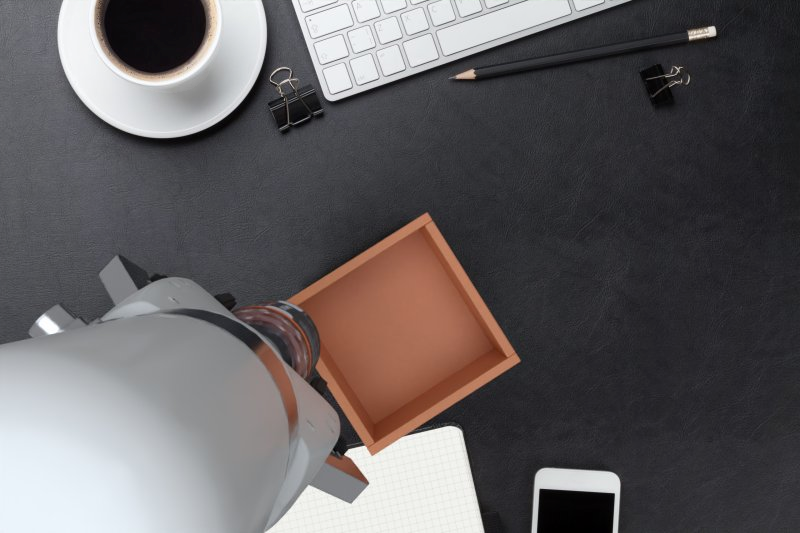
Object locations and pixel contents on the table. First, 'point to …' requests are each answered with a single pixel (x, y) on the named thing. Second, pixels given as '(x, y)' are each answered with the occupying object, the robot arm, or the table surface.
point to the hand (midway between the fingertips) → (259, 358)
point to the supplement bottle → (285, 332)
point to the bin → (403, 334)
